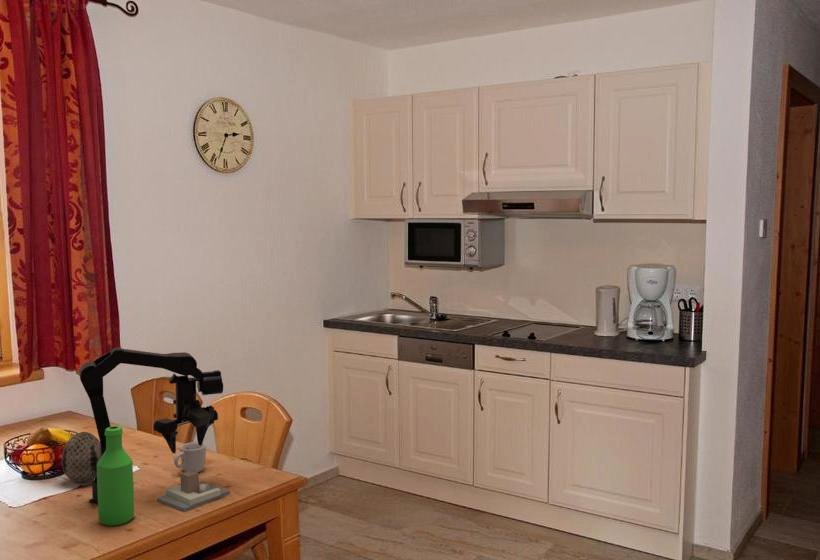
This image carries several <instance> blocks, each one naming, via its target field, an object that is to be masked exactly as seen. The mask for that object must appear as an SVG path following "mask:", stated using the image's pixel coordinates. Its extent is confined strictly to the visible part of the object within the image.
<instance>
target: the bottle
mask: <svg viewBox="0 0 820 560" xmlns="http://www.w3.org/2000/svg"><path fill="white" fill-rule="evenodd" d="M110 426H111V425H110ZM123 433H124V431H123V427H122V426H119V425H113V426H111V427H108V428H106V429H105V436H106V451H105V452H104V454H103V455H102V457H101V458H100V460H99V461H98V463H97V490H98V505H97V511H98V514H97V515H98V522H100V523H101V524H103V525H105V526H111V527H112V526H114V527H115V526H119V525H124V524H126V523H128V522H130V521H131V520H132V519H133V518H134V516H135V492H134V490H135V488H134V470H133V467H134V466H133V458H132V457H131V456H130V455H129V454H128V453H127V451H126V450H125V449H124V448H122V447H123V438H122V437H123Z"/></svg>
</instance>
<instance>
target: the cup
mask: <svg viewBox="0 0 820 560" xmlns="http://www.w3.org/2000/svg"><path fill="white" fill-rule="evenodd" d="M179 451H180V452H179V453H177V454H175V456H174V460H173V464H174V466H175V468H176V469H182V470H183V472H186V471H190V470H193V471H195V472H198V473H200V472H202V471H203V470H204V469H205V466H206V456H207V455H206V454H207V444H206V443H204V442H203V443H202V445H201V446H200V445H198V441H192V442H187V443H184V444H181V445H180V446H179ZM179 458H180V459H181V460H180V464H179Z"/></svg>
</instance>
